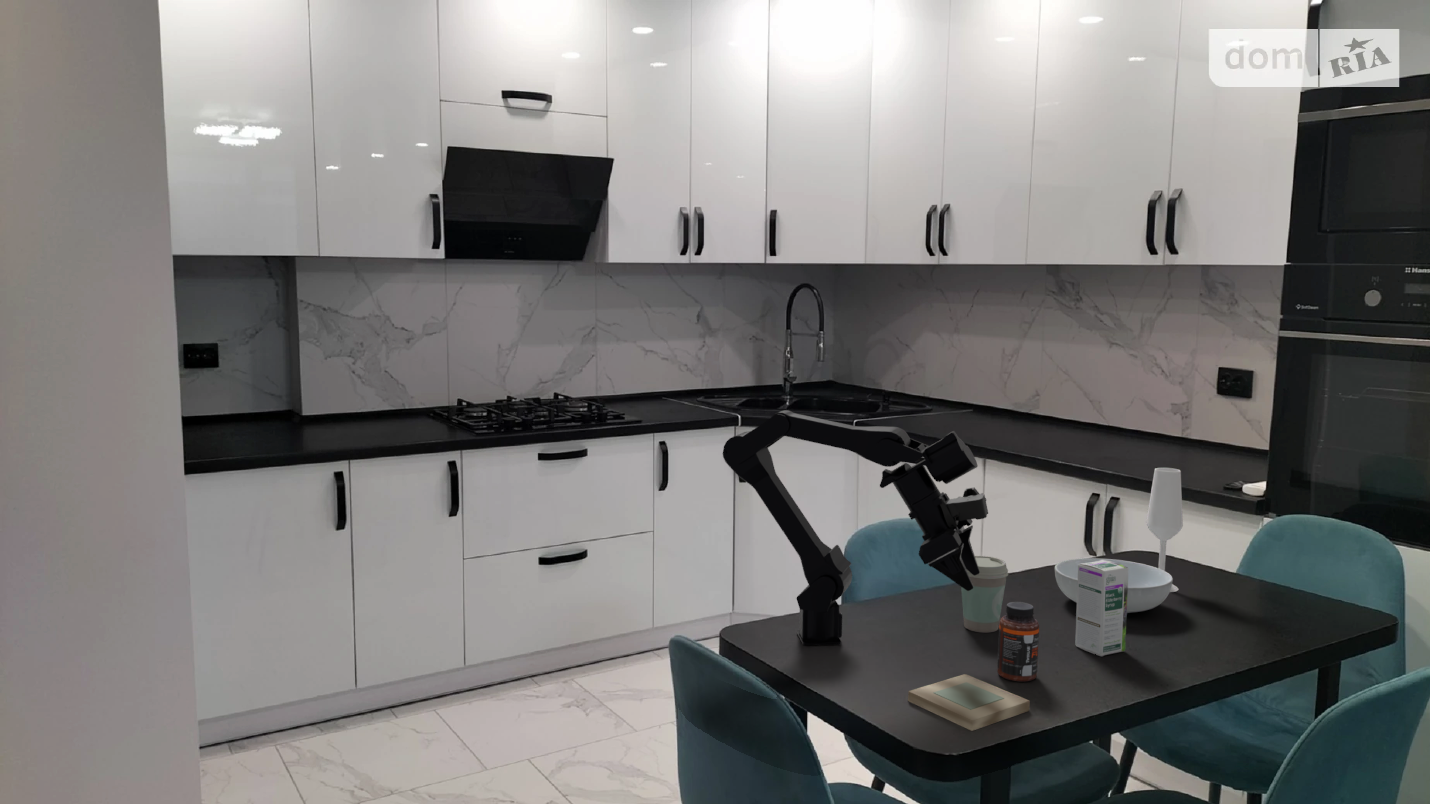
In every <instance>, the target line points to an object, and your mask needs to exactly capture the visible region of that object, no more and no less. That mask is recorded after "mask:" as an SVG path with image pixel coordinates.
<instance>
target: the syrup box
mask: <svg viewBox="0 0 1430 804" xmlns="http://www.w3.org/2000/svg"><path fill="white" fill-rule="evenodd" d="M1128 570H1129V568H1128V567H1126V566H1124V565H1121V564H1118V563H1115V562H1111V561H1106V560H1100V561H1095V562H1089V563H1081V564H1078V581H1077V603H1076V613H1075V615H1076V616H1075V639H1074V640H1075V643H1074V644H1075V646H1076V647H1077V648H1079V649H1081V650H1084V651H1086V652H1089V653H1091V654H1093V655H1095V654H1096V656H1099V657H1104V656H1107V655H1112V654H1117V653H1123V652H1125V651H1126V645H1127V644H1126V638H1127V637H1126V636H1127V635H1126V634H1127V618H1128V617H1127V615H1128V613H1127V595H1128Z"/></svg>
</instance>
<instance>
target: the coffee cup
mask: <svg viewBox="0 0 1430 804" xmlns="http://www.w3.org/2000/svg"><path fill="white" fill-rule="evenodd" d="M975 558H976V561H977V565H978V568H979V571H980V573H979V574H977V575H975V576H974V575H973V574H972V573H970V572H969V571H968V570H967V569H966V570H967V572H968V575H969V577H970V579H971V582H972V584H973V589H972V590H970V591H967V590H965V589H964V588H962V587H961V586H960V588H961V589H960V590H961V601H962V603H961V604H962V615H963V625H964V626H963V627H964V628H965V629H967V630H969V631H970V632H976V633H994V632H996V631H999V623H1000V619H1001V614H1002V606H1003V602H1004V601H1003V599H1004V594H1005V587H1006V581H1007V577H1008V576H1009V569H1008V567H1007V563H1006V561H1004V560H1003V559H1000V558H998V557H993V556H986V555H975Z"/></svg>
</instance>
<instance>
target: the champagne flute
mask: <svg viewBox="0 0 1430 804" xmlns="http://www.w3.org/2000/svg"><path fill="white" fill-rule="evenodd" d="M1152 477H1153V478H1152V484H1151V491H1150V497H1149V502H1148V509H1147V515H1146V521H1145V523H1146V526H1147V529H1149V531H1150V532H1151V533H1152V534H1153V536H1155V538H1157V539H1158V540H1159V555H1158V568H1159V569H1161V570H1164V571H1165V572H1166V557H1167V555H1166V554H1167V553H1166V552H1167V541H1168V540H1171V539H1172V538H1174V537H1175V536H1176V535H1178V534H1179V533H1180V531H1181V530H1182V528H1183V526H1184V523H1183V522H1184V521H1183V520H1184V519H1183V498H1182V497H1183V496H1182V495H1183V494H1182V471H1181V470H1180V469H1177V468H1172V467H1157V468H1156V467H1155V468H1154V472H1153V476H1152ZM1177 591H1179V588H1178V586H1176V585H1174V584H1173V583H1172V587H1171V590H1170V592H1169V593H1174V592H1177Z"/></svg>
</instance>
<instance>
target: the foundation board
mask: <svg viewBox="0 0 1430 804" xmlns="http://www.w3.org/2000/svg"><path fill="white" fill-rule="evenodd" d="M907 694H908V695H907V699H908V700H907V702H909V703H911V704H913V705H916V706H918V707H919V708H922V709H924V710H926V711H929V712H931V713H933V714H935V715H937V716H938V717H941V718H943V719H945V720H947V721H950V722H952V723H954V724H956V725H958V726H960V727H962V728H965V729H966V730H969V731H971V732H973V731H975V730H979V729H981V728H984V727H988V726H990V725H992V724H996V723H998V722H1000V721H1004V720H1007V719H1010V718H1012V717H1016V716H1018V715H1021V714H1024V713H1027V712H1030V704H1031V703H1030V702H1031V700H1030V699H1026V698H1024V697H1023V696H1019V695H1017V694H1014V693H1011V692H1009V691H1007V690H1004V689H1002V688H1000V687H997V686H996V685H993V684H991V683H988V682H986V681H983V680H981V679H978V678H976V677H974V676H971V675H969V674H966V673H964V674H960V675H958V676H953V677H950V678H947V679H944V680H941V681H938V682H935V683H932V684H928V685H924V686H921V687H918V688H914V689H912V690H908V692H907Z"/></svg>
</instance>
